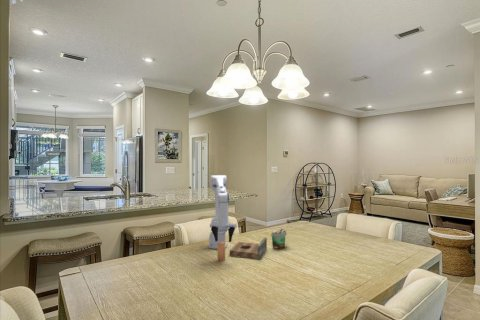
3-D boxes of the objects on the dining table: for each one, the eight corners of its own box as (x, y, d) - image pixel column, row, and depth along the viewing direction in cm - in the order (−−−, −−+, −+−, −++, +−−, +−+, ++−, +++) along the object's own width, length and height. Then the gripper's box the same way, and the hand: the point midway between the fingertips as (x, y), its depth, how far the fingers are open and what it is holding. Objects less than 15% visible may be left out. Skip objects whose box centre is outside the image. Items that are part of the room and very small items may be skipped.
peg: (216, 261, 139) (216, 243, 139) (219, 258, 143) (219, 241, 143) (223, 261, 138) (223, 244, 138) (226, 259, 141) (226, 242, 141)
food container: (280, 251, 153) (280, 234, 153) (271, 249, 156) (271, 232, 156) (290, 246, 162) (290, 229, 162) (281, 244, 166) (281, 228, 166)
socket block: (229, 255, 146) (229, 243, 146) (238, 246, 161) (238, 235, 161) (260, 259, 141) (260, 246, 141) (266, 249, 156) (266, 237, 156)
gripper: (207, 216, 139) (207, 242, 138) (234, 216, 136) (234, 243, 135) (212, 214, 146) (212, 239, 145) (237, 214, 142) (237, 240, 141)
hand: (223, 241), depth 140 cm, fingers open, 7 cm apart
